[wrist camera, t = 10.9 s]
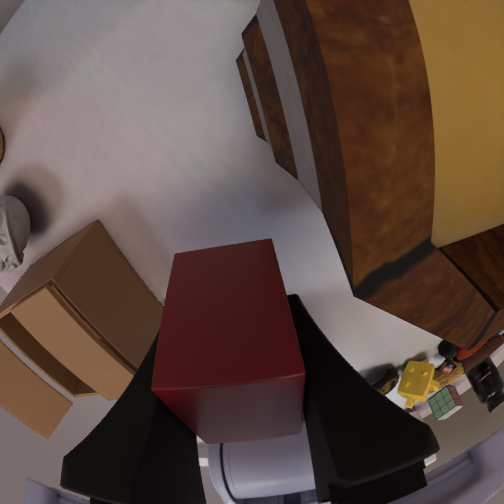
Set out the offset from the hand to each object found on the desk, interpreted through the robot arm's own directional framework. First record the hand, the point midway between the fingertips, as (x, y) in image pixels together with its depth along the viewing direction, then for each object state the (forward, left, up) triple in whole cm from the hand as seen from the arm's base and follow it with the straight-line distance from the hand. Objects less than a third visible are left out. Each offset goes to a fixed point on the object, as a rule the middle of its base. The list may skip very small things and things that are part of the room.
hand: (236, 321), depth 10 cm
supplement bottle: (-51, -32, -11) cm, 61 cm away
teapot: (-29, -13, -7) cm, 33 cm away
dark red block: (0, 0, -1) cm, 1 cm away
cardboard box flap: (-1, +22, 0) cm, 22 cm away
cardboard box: (-1, +15, -10) cm, 18 cm away
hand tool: (-42, -13, -6) cm, 45 cm away
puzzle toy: (-55, -23, -11) cm, 61 cm away
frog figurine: (+8, +16, -11) cm, 21 cm away
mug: (+9, -9, -10) cm, 17 cm away
